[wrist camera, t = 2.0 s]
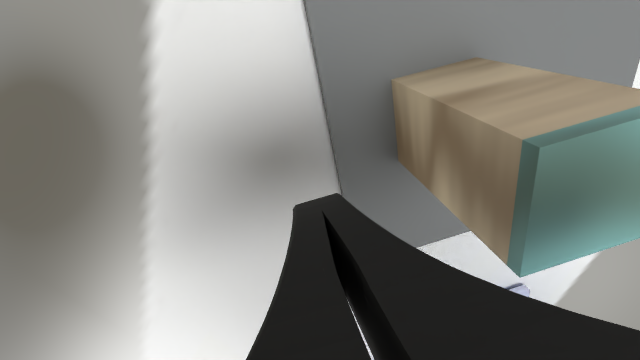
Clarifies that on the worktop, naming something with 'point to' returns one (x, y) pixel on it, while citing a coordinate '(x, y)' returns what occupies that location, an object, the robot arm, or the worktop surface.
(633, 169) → the block
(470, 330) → the robot arm
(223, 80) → the worktop surface
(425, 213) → the mat
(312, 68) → the worktop surface
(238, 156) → the worktop surface
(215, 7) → the worktop surface
